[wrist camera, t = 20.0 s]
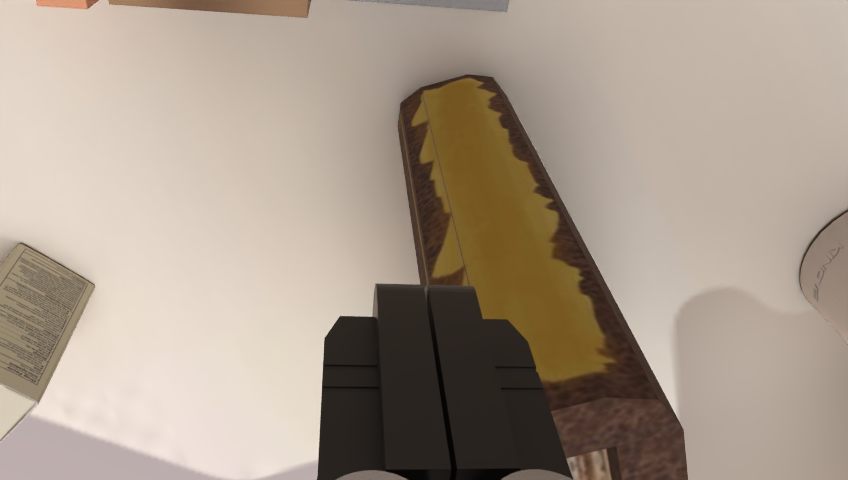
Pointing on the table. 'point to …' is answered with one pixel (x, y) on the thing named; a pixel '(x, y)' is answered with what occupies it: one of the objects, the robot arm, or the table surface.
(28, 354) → the skincare box
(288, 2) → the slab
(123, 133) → the table surface
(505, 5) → the rail
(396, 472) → the robot arm
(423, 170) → the book
